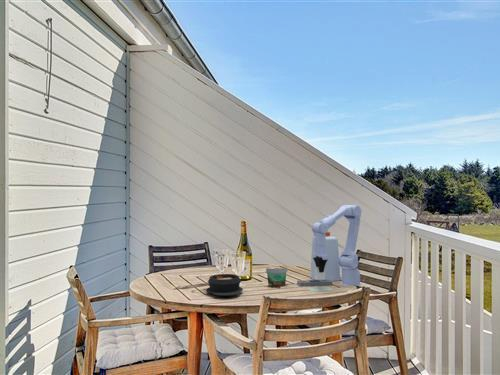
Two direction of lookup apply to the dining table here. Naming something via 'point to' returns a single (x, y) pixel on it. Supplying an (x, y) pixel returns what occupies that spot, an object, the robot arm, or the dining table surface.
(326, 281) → the grey slotted plate
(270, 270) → the food container
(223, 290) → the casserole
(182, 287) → the dining table surface
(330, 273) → the plastic bottle
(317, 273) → the white rectangular block
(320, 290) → the rubber mat
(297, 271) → the dining table surface
